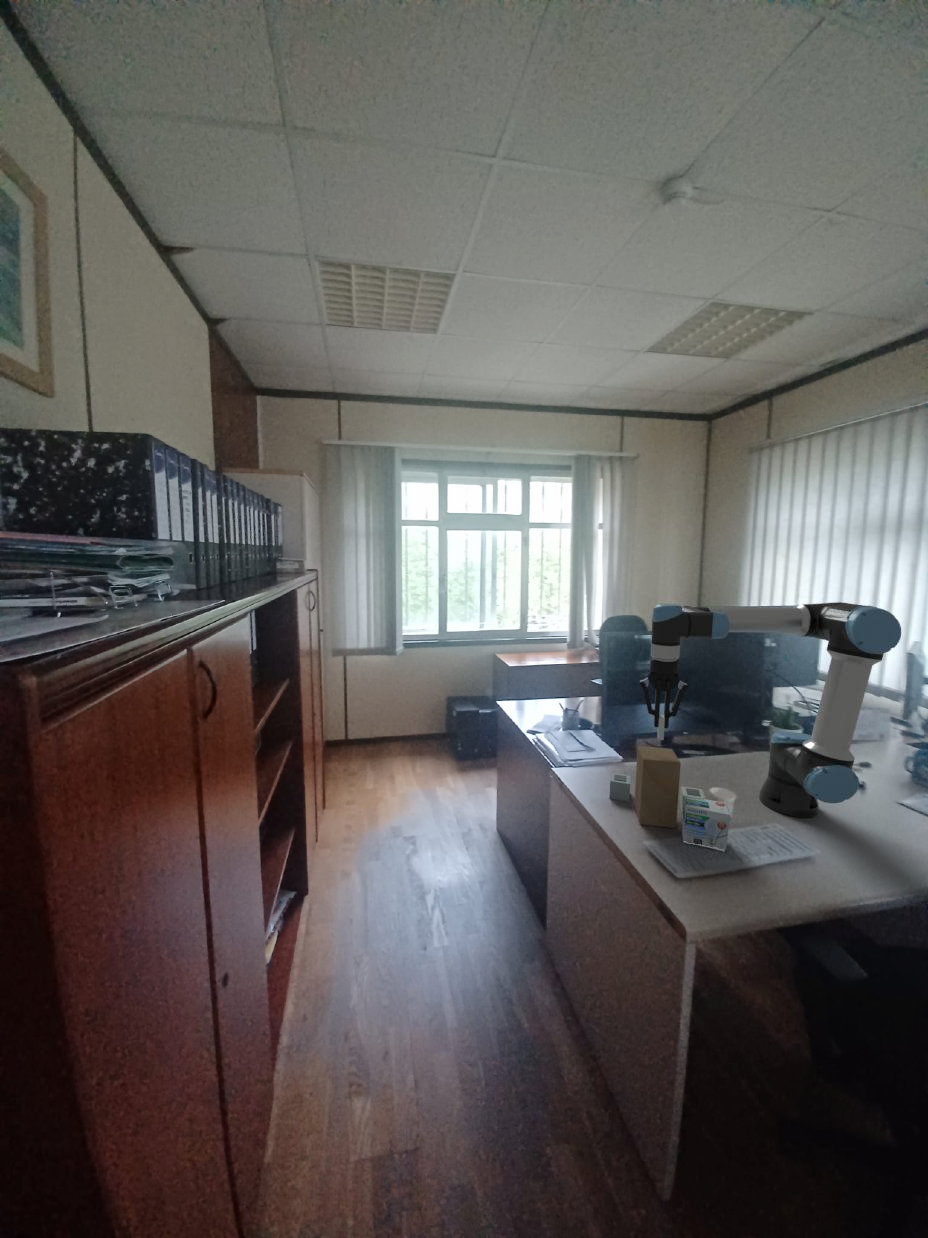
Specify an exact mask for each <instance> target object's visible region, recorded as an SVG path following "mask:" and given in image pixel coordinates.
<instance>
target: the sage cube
mask: <svg viewBox="0 0 928 1238" xmlns="http://www.w3.org/2000/svg"><path fill="white" fill-rule="evenodd" d="M685 796H690V797H695V798H701V799H706V796H705V793H704V790H703V789H702V788H696V787H691V786H690V787H689V786H682V785H680V796H679V797H680V798H679V807H680V811H681V814H682V815H683V811H684V800H685Z"/></svg>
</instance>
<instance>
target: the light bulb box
mask: <svg viewBox="0 0 928 1238" xmlns="http://www.w3.org/2000/svg"><path fill="white" fill-rule="evenodd" d="M729 826H730V811H729V807H728V804H727V802H724V801H723V802H722V801H717V800H710V799H706V798H705V799H701V798H695V797H690V796H685V800H684V811H683V814H682V823H681V837H682V838H683V839H682V842H683V841H686V842H688V843H695V844H701V845H705V846H710V847H717V848H719V849H726V850H727V844H728V834H729Z"/></svg>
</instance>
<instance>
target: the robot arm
mask: <svg viewBox="0 0 928 1238" xmlns="http://www.w3.org/2000/svg"><path fill="white" fill-rule="evenodd" d="M651 618H652V619H651V641H650V642H651V643H650V657H651V658H650V662H649V673H648V674H647V677H645V678H644V679H640V680H639V685H640V687H641V689H642V690H643V693H644V694H643V695H644V700H645V703H646V708H647V713H648V714H649V715H652V716H653V726H654V728H657V736H656V737H657V740H659V741H660V740H661V741H664V740H665V739H664V738H665V729H669V723H670V722H669V721H670V718H671V717H676V716H677V714H678V711H679V708H680V706H681V702H682V700H683V697H684V694H685V693H686V692H687V690H688V689H689V686H688V684H687V683H686V682H683V681H682V680H681V678H680V675H679V672H680V671H679V668H680V661H679V660H678V659H680V652H681V639H699V640H700V639H701V640H702V639H704V640H706V639H707V640H719V639H721V640H722V639H725V638H726V637H727V636H728V635H729V633H763V634H764V633H771V634H772V633H774V634H778V633H780V634H794V635H795V636H796V637H802V638H803V637H804V638H805V637H808V638H814V639H819V640H822V641H823V640H824V641H826V642H827V647H826V653H827V652H828V654H829V655H830V657H831V659H830V663H829V666H828V671H827V675H826V678H825V682H824V685H823V690H822V693H821V698H820V700H819V705H818V710H817V713H816V717H815V720H814V723H813V729H812V733H811V734H807V733H802V732H798V731H797V732H796V731H785V730H784V731H776V732H774V733H773V734H772V737H771V741H770V751H769V753H770V754H769V760H768V761H769V762H768V772H767V777H766V778H765V781H764V783H763V785H762V786H761V788H760V790H759V800H760V802H761V803H762V804H763V805H764V806H766V807H767V808H770V809H771V810H773V811H775V812H777V813H780V814H783V815H786V816H791V817H795V818H796V817H797V818H804V819H805V818H806V819H807V818H813V817H816V816H817V815H818V814H819V802H818V801H821V802H823V803H827V804H840V803H843V802H844V801H846V800H850V799H851V798H853V797H854V796H855V795H856V793H857V792H858V790H859V787H860V781H859V777H858V776H857V774H856V772H855V771H854V770H853V766H854V763H855V756H854V755H853V753H852V752H851V751H850V749H851V745H852V743H853V738H854V734H855V731H856V727H857V723H858V720H859V716H860V712H861V709H862V705H863V701H864V699H865V694H866V691H867V687H868V683H869V681H870V676H871V672H872V670H873V669H872V668H873V666H874V665H876V664H878V663H881V662H882V661H883V657H884V654H885V653H888V652H890V651H892V649H895V648H896V646H897V645H898V644H899V642H900V640H901V637H902V626H901V623H900V622H899V620H898V619H897V618H896V616H895V615H894V614H893V613H891V612H890V611H888V610H886V609H884V608H880V607H877V606H873V605H863V604H857V603H856V604H855V603H848V602H841V601H839V602H824V603H823V602H822V603H805V604H804V603H799V604H796V605H795V606H794V607H774V606H773V607H766V606H764V607H763V606H762V607H755V606H753V607H752V606H751V607H749V606H746V607H745V606H744V607H743V606H742V607H741V606H739V607H737V606H734V607H733V606H730V607H729V606H717V607H716V606H706V607H705V606H690V605H680V604H676V603H659V604H656V605H655V606H654V607H653V610H652V617H651ZM650 684H651V686H652V687H653V689H654V690H655V693H654V694H655V696H654V709H653V706H652V701H651V697H650V692H649V688H648V687H649V685H650ZM676 686H677V687H678V690H677V691H676V692H677V693H676V696H675V698H674V701H673V704H672V706H671V694H672V693H671V691H673V690H674V689H675V687H676ZM662 691H664V705H663V707H664V709H663V714H660V712H661V711H660V709H661V695H662ZM670 708H671V710H670Z"/></svg>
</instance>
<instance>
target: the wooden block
mask: <svg viewBox="0 0 928 1238" xmlns="http://www.w3.org/2000/svg"><path fill="white" fill-rule="evenodd" d="M636 753H637V754H636V769H635V771H636V773H635V789H634V803H633V804H634V805H633V807H634V809H635V813H636V816H637V819H638V823H639V825H642V826H650V827H651V826H653V827H661V828H669V829H676V828H677V819H678V808H679V807H678V804H679V788H680V776H681V761H680V760H679V758H678V756H677V754H676V753H675V752H674V749H673V748H667V747H655V746H645V745H644V746H640V745H638V746H637V752H636Z"/></svg>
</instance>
